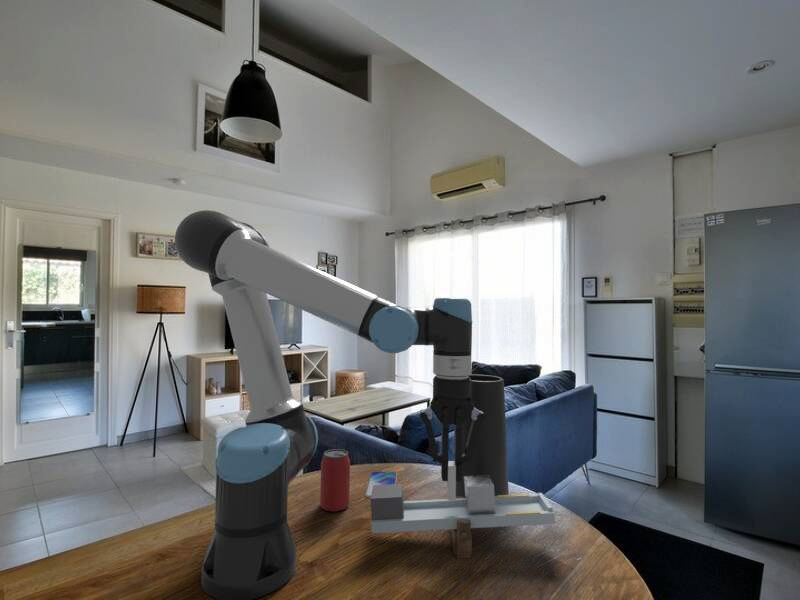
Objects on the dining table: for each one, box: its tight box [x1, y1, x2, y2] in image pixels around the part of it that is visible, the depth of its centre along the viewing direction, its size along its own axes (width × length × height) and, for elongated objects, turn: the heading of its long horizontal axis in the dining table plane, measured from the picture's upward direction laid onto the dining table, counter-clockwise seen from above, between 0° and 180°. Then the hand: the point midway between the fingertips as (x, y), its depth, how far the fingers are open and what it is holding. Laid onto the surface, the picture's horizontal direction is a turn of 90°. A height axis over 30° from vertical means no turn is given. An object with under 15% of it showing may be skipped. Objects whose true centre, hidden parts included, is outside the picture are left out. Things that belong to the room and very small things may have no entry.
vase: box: [452, 374, 510, 498], centre depth 99 cm, size 14×14×29 cm
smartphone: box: [364, 471, 398, 499], centre depth 106 cm, size 7×1×15 cm
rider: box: [464, 475, 496, 515], centre depth 80 cm, size 5×5×6 cm
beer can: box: [319, 448, 351, 513], centre depth 94 cm, size 7×7×12 cm
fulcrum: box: [449, 496, 473, 559], centre depth 80 cm, size 3×12×6 cm, turn 179°
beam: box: [369, 483, 556, 534], centre depth 80 cm, size 34×8×6 cm, turn 89°
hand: (451, 497), depth 80 cm, fingers closed
